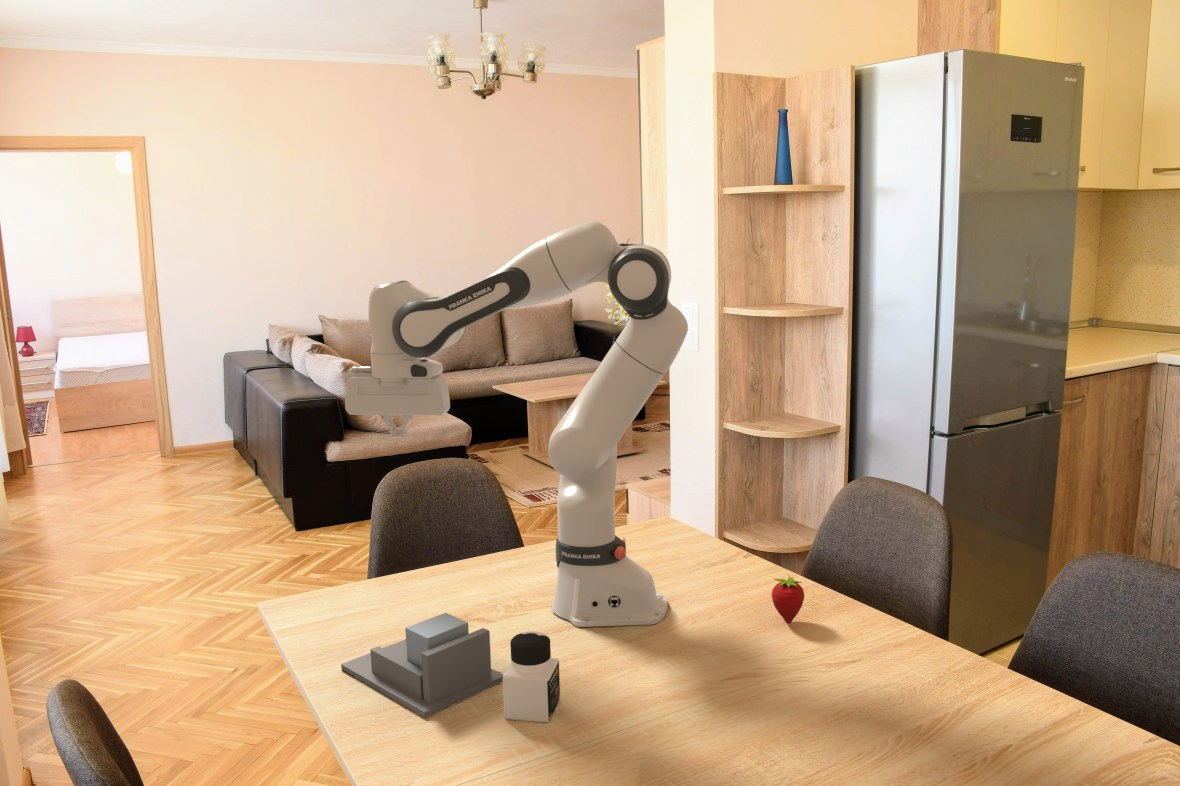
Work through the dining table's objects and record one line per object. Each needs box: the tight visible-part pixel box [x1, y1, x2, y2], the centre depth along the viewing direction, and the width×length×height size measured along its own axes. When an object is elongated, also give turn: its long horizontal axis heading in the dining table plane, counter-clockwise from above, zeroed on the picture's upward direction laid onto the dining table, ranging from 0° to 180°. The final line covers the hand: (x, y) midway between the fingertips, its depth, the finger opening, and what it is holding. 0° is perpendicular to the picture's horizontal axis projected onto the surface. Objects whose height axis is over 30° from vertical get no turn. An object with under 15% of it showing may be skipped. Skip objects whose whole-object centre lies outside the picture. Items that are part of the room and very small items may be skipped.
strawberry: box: [771, 575, 805, 624], centre depth 170 cm, size 6×8×10 cm
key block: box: [405, 612, 470, 669], centre depth 149 cm, size 6×8×9 cm
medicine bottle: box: [502, 630, 561, 724], centre depth 140 cm, size 7×7×12 cm
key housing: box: [340, 627, 504, 719], centre depth 152 cm, size 24×16×9 cm, turn 46°
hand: (399, 437), depth 178 cm, fingers closed
